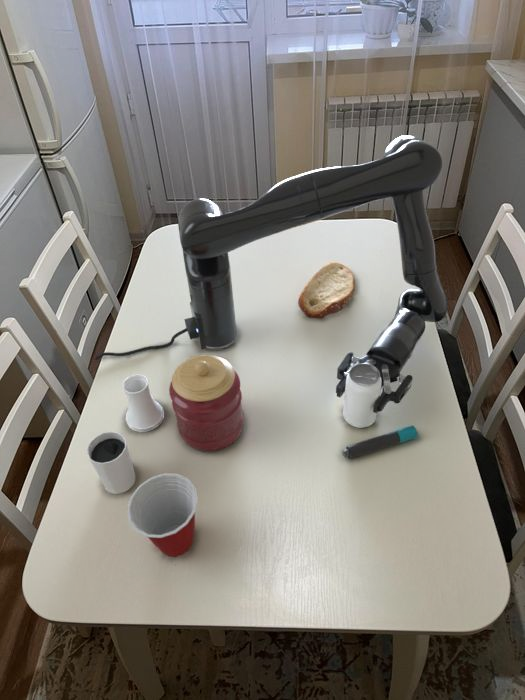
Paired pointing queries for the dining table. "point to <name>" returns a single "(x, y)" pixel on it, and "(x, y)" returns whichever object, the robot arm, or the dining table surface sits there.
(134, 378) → the vase
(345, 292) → the bread slice
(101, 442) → the white coffee cup
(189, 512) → the plastic cup
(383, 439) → the marker
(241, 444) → the dining table surface
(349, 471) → the dining table surface
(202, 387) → the kitchen canister
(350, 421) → the can
